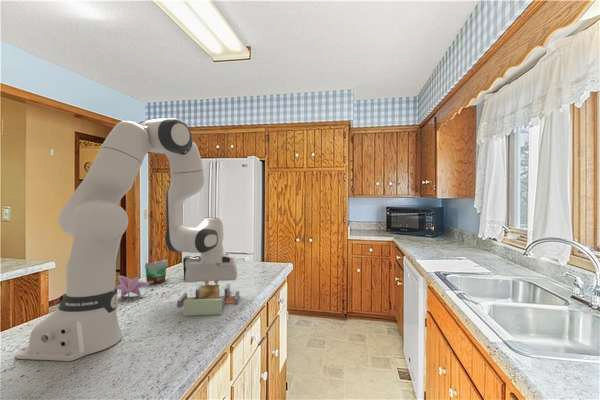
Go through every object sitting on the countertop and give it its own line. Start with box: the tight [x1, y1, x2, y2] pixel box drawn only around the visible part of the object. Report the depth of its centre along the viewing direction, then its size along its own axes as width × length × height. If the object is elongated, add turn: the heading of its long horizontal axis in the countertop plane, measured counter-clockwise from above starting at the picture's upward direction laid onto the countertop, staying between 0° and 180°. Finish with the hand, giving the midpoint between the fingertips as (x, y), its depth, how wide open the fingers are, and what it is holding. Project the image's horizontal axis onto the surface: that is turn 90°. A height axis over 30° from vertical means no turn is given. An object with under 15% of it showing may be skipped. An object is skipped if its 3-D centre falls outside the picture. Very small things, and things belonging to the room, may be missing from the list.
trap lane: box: [176, 283, 240, 316], centre depth 114 cm, size 22×26×5 cm
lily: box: [115, 275, 151, 302], centre depth 117 cm, size 12×12×10 cm
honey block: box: [199, 284, 220, 299], centre depth 116 cm, size 6×8×5 cm
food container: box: [144, 257, 169, 285], centre depth 140 cm, size 12×6×10 cm, turn 168°
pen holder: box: [182, 255, 201, 280], centre depth 148 cm, size 9×9×10 cm
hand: (211, 291), depth 120 cm, fingers closed
